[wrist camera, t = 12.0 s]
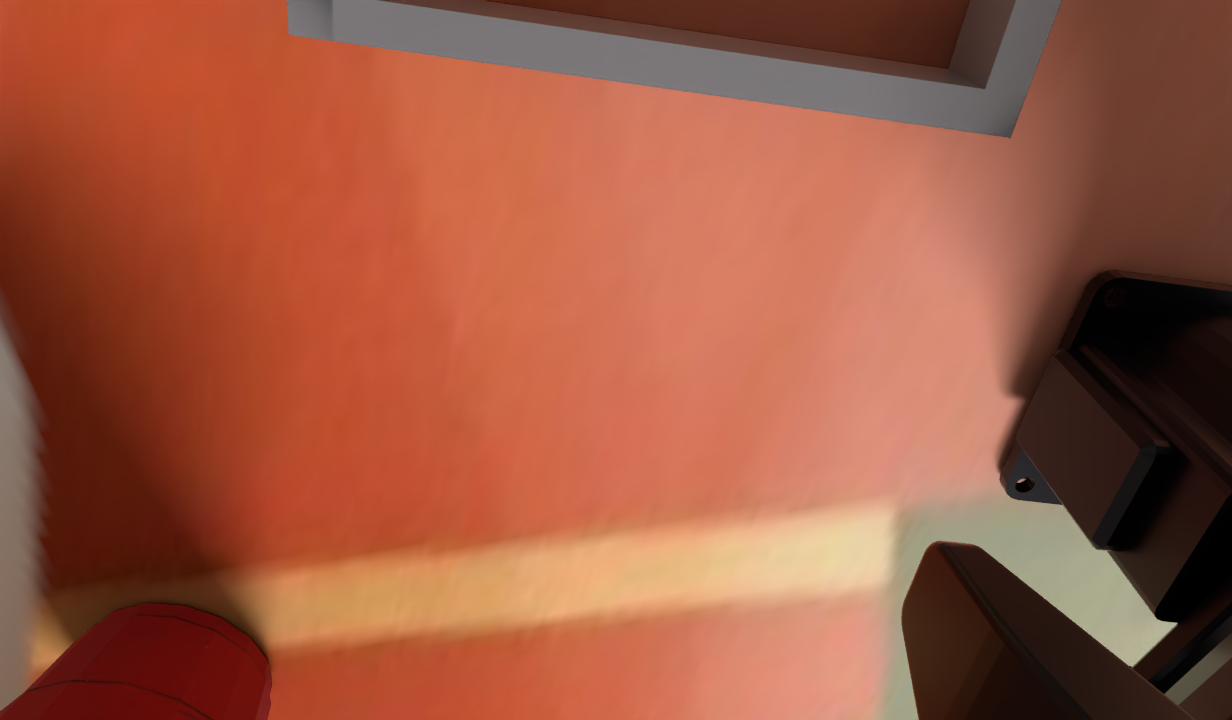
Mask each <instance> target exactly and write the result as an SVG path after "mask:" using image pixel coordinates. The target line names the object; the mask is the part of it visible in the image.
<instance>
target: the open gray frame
mask: <svg viewBox="0 0 1232 720" xmlns="http://www.w3.org/2000/svg"><path fill="white" fill-rule="evenodd" d="M1061 1H1062V0H970V2H969V5H968V8H967V12H966V15H965V18H964V21H963V24H962V27H961V30H960V33H959V36H958V40H957V43H956V46H955V49H954V52H953V55H952V58H951V61H950V64H949V67H948V69H945V68H938V67H931V66H925V65H918V64H911V63H904V62H898V61H891V60H884V59H877V58H870V57H864V56H857V55H850V54H843V53H837V52H830V51H823V50H816V49H809V48H803V47H796V46H789V45H782V44H776V43H769V42H762V41H755V40H749V39H742V38H735V37H728V36H721V35H715V34H708V33H701V32H694V31H688V30H681V29H674V28H667V27H660V26H654V25H647V24H640V23H633V22H627V21H620V20H613V19H606V18H599V17H593V16H586V15H579V14H572V13H566V12H559V11H552V10H545V9H538V8H532V7H525V6H518V5H511V4H505V3H498V2H491V1H484V0H287V11H288V29H289V35H293V36H300V37H307V38H314V39H321V40H328V41H335V42H342V43H349V44H356V45H363V46H370V47H378V48H385V49H392V50H399V51H406V52H413V53H420V54H427V55H434V56H441V57H448V58H455V59H462V60H469V61H476V62H483V63H490V64H497V65H504V66H511V67H518V68H525V69H532V70H539V71H546V72H553V73H560V74H567V75H574V76H581V77H588V78H595V79H602V80H609V81H616V82H623V83H630V84H637V85H644V86H651V87H658V88H665V89H672V90H679V91H686V92H693V93H700V94H707V95H714V96H721V97H728V98H735V99H742V100H749V101H756V102H763V103H770V104H777V105H784V106H791V107H798V108H805V109H812V110H819V111H826V112H833V113H840V114H847V115H854V116H861V117H868V118H875V119H882V120H889V121H896V122H903V123H910V124H917V125H924V126H931V127H938V128H945V129H952V130H959V131H966V132H973V133H980V134H987V135H994V136H1001V137H1008V138H1011V135H1012V132H1013V130H1014V127H1015V124H1016V122H1017V119H1018V116H1019V114H1020V111H1021V108H1022V106H1023V103H1024V100H1025V98H1026V95H1027V92H1028V90H1029V87H1030V84H1031V82H1032V79H1033V76H1034V74H1035V71H1036V68H1037V65H1038V63H1039V60H1040V57H1041V55H1042V52H1043V49H1044V47H1045V44H1046V41H1047V39H1048V36H1049V33H1050V31H1051V28H1052V25H1053V23H1054V20H1055V17H1056V15H1057V12H1058V9H1059V6H1060V4H1061Z"/></svg>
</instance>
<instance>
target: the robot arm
mask: <svg viewBox="0 0 1232 720" xmlns="http://www.w3.org/2000/svg"><path fill="white" fill-rule="evenodd" d="M1115 287H1118V290H1117V292H1116V293H1115V295H1114V296H1112V297H1111V298H1109V299H1104V297H1105V295H1106V294H1107V292H1108V291H1109V290H1111V289H1113V288H1115ZM1026 477H1027V479H1026V480H1025V481H1023V482H1021V483H1017V482H1018V480H1020V479H1022V478H1026ZM999 480H1000V483H1001V485H1002V487H1003V488H1004V490H1005V491H1006V493H1007V494H1008V495H1009V496H1010V497H1011V498H1014V499H1017V500H1024V501H1033V502H1042V503H1051V504H1059V505H1063V506H1064V507H1065V508H1066V510H1067V511H1068V513H1069V514H1070V515H1071V517H1072V518H1073V520H1074V521H1075V522H1076V524H1077V525H1078V527H1079V528H1080V529H1081V531H1082V532H1083V533H1084V535H1085V536H1086V538H1087V539H1088V540H1089V542H1090V543H1091V545H1092V546H1093V547H1094V548H1096V549H1097V550H1104V551H1107V552H1108V553H1109V555H1110V556H1111V557H1112V559H1113V560H1114V561H1115V563H1116V564H1117V565H1118V567H1119V568H1120V569H1121V571H1122V572H1123V574H1124V575H1125V576H1126V578H1127V579H1128V580H1129V582H1130V583H1131V584H1132V586H1133V587H1134V588H1135V590H1136V591H1137V593H1138V594H1139V595H1140V597H1141V598H1142V599H1143V601H1144V602H1145V603H1146V605H1147V606H1148V607H1149V609H1150V610H1151V612H1152V613H1153V614H1154V616H1155V617H1156V618H1157V619H1158V620H1161V621H1166V622H1175V623H1178V624H1176V625H1175V626H1174V627H1173V628H1172V629H1171V630H1170V631H1169V632H1168V633H1167V634H1166V635H1165V636H1164V637H1163V638H1162V639H1161V640H1160V641H1159V642H1158V643H1157V644H1156V645H1155V646H1154V647H1153V648H1152V649H1150V650H1149V651H1148V652H1147V653H1146V654H1145V655H1144V656H1143V657H1142V658H1141V659H1140V660H1139V661H1138V662H1137V663H1136V664H1135V665H1134V666H1133V667H1131V666H1128V665H1127V664H1126V663H1124V662H1123V661H1122V660H1121V659H1119V658H1118V657H1117V656H1116V655H1114V654H1113V653H1112V652H1111V651H1109V650H1108V649H1107V648H1106V647H1104V646H1103V645H1102V644H1101V643H1099V642H1098V641H1097V640H1096V639H1094V638H1093V637H1092V636H1091V635H1089V634H1088V633H1087V632H1086V631H1084V630H1083V629H1082V628H1081V627H1079V626H1078V625H1077V624H1076V623H1074V622H1073V621H1072V620H1071V619H1069V618H1068V617H1067V616H1066V615H1064V614H1063V613H1062V612H1061V611H1059V610H1058V609H1057V608H1056V607H1054V606H1053V605H1052V604H1051V603H1049V602H1048V601H1047V600H1046V599H1044V598H1043V597H1042V596H1041V595H1039V594H1038V593H1037V592H1035V591H1034V590H1033V589H1032V588H1030V587H1029V586H1028V585H1027V584H1025V583H1024V582H1023V581H1022V580H1020V579H1019V578H1018V577H1017V576H1015V575H1014V574H1013V573H1012V572H1010V571H1009V570H1008V569H1007V568H1005V567H1004V566H1003V565H1002V564H1000V563H999V562H998V561H997V560H995V559H994V558H993V557H992V556H990V555H989V554H988V553H987V552H985V551H984V550H983V549H981V548H980V547H978V546H976V545H973V544H966V543H957V542H948V541H937V542H934V543H932V544H931V545H930V546H929V547H928V548H927V549H926V551H925V553H924V555H923V557H922V560H921V562H920V564H919V567H918V569H917V571H916V574H915V576H914V578H913V581H912V583H911V585H910V588H909V590H908V592H907V595H906V597H905V600H904V603H903V607H902V616H901V620H902V630H903V636H904V641H905V647H906V652H907V658H908V663H909V669H910V674H911V680H912V685H913V691H914V696H915V702H916V707H917V713H918V718H919V720H1232V286H1230V285H1223V284H1215V283H1208V282H1200V281H1193V280H1185V279H1178V278H1170V277H1162V276H1155V275H1147V274H1140V273H1132V272H1125V271H1117V270H1112V271H1105V272H1103V273H1100V274H1098V275H1097V276H1096V277H1094V278H1093V279H1092V280H1091V281H1090V282H1089V284H1088V285H1087V287H1086V289H1085V291H1084V293H1083V295H1082V298H1081V300H1080V302H1079V304H1078V306H1077V308H1076V311H1075V313H1074V315H1073V317H1072V319H1071V322H1070V324H1069V326H1068V328H1067V330H1066V332H1065V335H1064V337H1063V339H1062V341H1061V343H1060V346H1059V348H1058V350H1057V352H1056V353H1055V354H1054V355H1053V356H1052V357H1051V359H1050V361H1049V363H1048V366H1047V368H1046V370H1045V372H1044V374H1043V376H1042V379H1041V381H1040V383H1039V385H1038V387H1037V390H1036V392H1035V394H1034V396H1033V398H1032V400H1031V403H1030V405H1029V407H1028V409H1027V411H1026V414H1025V416H1024V418H1023V420H1022V422H1021V425H1020V427H1019V429H1018V431H1017V433H1016V441H1015V443H1014V446H1013V448H1012V450H1011V452H1010V454H1009V457H1008V459H1007V461H1006V463H1005V465H1004V467H1003V470H1002V472H1001V474H1000V479H999Z"/></svg>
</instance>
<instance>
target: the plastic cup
mask: <svg viewBox="0 0 1232 720" xmlns="http://www.w3.org/2000/svg"><path fill="white" fill-rule="evenodd" d="M271 687H272V681H271V676H270V670H269V664H268V660H267V659H266V658H265V656H264V655H263V654H262V653H261V651H260V650H259V649H258V647H257V646H256V645H255V643H254V642H253V641H252V639H251V638H250V637H249V636H247V635H246V634H244V633H243V632H241V631H240V630H238V629H237V628H235V627H234V626H232V625H231V624H229V623H228V622H226V621H225V620H223V619H222V618H220V617H217V616H214V615H211V614H208V613H205V612H202V611H199V610H196V609H193V608H190V607H187V606H184V605H169V604H154V603H145V604H141V605H136V606H132V607H128V608H124V609H120V610H116V611H114V612H113V613H111V614H110V615H109V616H108V617H106V618H105V619H104V620H102V621H101V622H100V623H97V624H96V625H95V626H94V627H92V628H91V629H90V630H89V631H87V632H86V633H85V634H84V635H82V636H81V637H80V638H79V639H77V640H76V641H75V642H74V643H73V644H72V645H71V646H70V647H69V648H68V649H67V650H66V651H65V652H64V653H63V654H62V655H61V656H60V657H59V658H58V659H57V660H56V661H55V662H54V663H53V664H52V665H51V666H50V667H49V668H48V669H47V670H46V671H45V672H44V673H43V674H42V675H41V676H40V677H39V678H38V679H37V680H36V681H35V682H34V683H33V684H32V685H31V686H30V687H29V688H28V689H27V690H26V691H25V692H24V693H23V694H22V695H20V696H19V697H18V698H17V699H15V700H14V701H13V702H12V703H10V704H9V705H8V706H7V707H5V708H4V709H3V710H1V711H0V720H267V719H268V715H269V710H270V706H271V700H270V692H271Z"/></svg>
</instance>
